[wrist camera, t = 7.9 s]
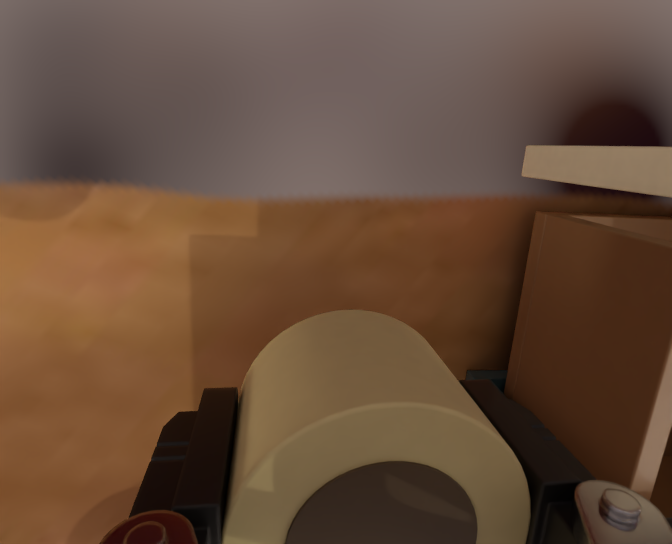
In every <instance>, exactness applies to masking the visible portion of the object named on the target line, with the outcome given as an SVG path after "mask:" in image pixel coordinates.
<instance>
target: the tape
mask: <svg viewBox="0 0 672 544" xmlns="http://www.w3.org/2000/svg"><path fill="white" fill-rule="evenodd" d="M530 519H531V499H530V493H529V488H528V483H527V479H526V477H525V474H524V471H523V469H522V466H521V464H520V462H519V461H518V459H517V457H516V456H515V454H514V452H513V451H512V449H511V448H510V447H509V446H508V444H507V443H506V442H505V440H504V439H503V438H502V437H501V435H500V434H499V433H498V431H497V430H496V429H495V428H494V426H493V425H492V424H491V422H490V421H489V420H488V419H487V417H486V416H485V415H484V413H483V412H482V411H481V410H480V408H479V407H478V406H477V404H476V403H475V402H474V401H473V399H472V398H471V397H470V396H469V394H468V393H467V392H466V390H465V389H464V388H463V387H462V385H461V384H460V383H459V381H458V380H457V379H456V378H455V376H454V375H453V374H452V372H451V371H450V370H449V369H448V367H447V366H446V365H445V363H444V362H443V361H442V360H441V358H440V357H439V356H438V354H437V353H436V352H435V351H434V349H433V348H432V347H431V346H430V344H429V343H428V342H427V341H426V340H425V338H423V337H422V336H421V335H420V334H419V333H418V332H417V331H416V330H414V329H413V328H411V327H410V326H408V325H407V324H405V323H404V322H402V321H399V320H397V319H395V318H393V317H391V316H387V315H384V314H381V313H377V312H372V311H366V310H338V311H332V312H327V313H322V314H319V315H315V316H312V317H309V318H307V319H305V320H302V321H300V322H298V323H296V324H294V325H292V326H291V327H289V328H288V329H286V330H284V331H283V332H281V333H280V334H279V335H278V336H276V337H275V338H274V339H273V340H271V341H270V342H269V343H268V344H267V345H266V346H265V348H264V349H263V350H262V351H261V352H260V353H259V354H258V356H257V357H256V359H255V360H254V361H253V363H252V364H251V366H250V368H249V370H248V372H247V374H246V376H245V379H244V381H243V384H242V387H241V391H240V396H239V401H238V410H237V418H236V425H235V433H234V441H233V448H232V456H231V464H230V471H229V479H228V487H227V495H226V502H225V510H224V518H223V525H222V544H526V540H527V535H528V531H529V525H530Z"/></svg>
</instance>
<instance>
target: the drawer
mask: <svg viewBox="0 0 672 544" xmlns="http://www.w3.org/2000/svg"><path fill="white" fill-rule="evenodd" d="M522 176H523V177H530V178H537V179H544V180H551V181H558V182H565V183H572V184H579V185H586V186H593V187H600V188H607V189H615V190H622V191H629V192H636V193H643V194H650V195H657V196H664V197H671V198H672V147H654V146H653V147H651V146H559V145H527V146H526V151H525V157H524V163H523V169H522ZM504 395H505V396H506V397H507V398H508V399H512V400H513V401H515V402H517V403H518V404H520V405H522V406H523V407H525V408H527V409H528V410H530V411H531V412H532V413H533V414H534V415H535V416H536V417H537V418H538V419H539V420H540V421H541V422H542V423H543V424H544V427H545V428H548V429H549V430H550V431H551V432H552V433H553V435H554V436H555V437H556V440H559V441H560V442H561V443H562V444H563V445H564V446H565V447H566V448H567V449H568V450H569V451H570V452H571V453H572V454H573V455H574V456H575V457H576V458H577V459H578V461H579V462H580V463H581V464H582V465H583V466H584V467H585V468H586V469H587V470H588V471H589V472H590V473H591V474H592V475H593V476H594V477H595V478H596V479H597V480H603V481H609V482H613V483H616V484H619V485H622V486H625V487H627V488H629V489H631V490H633V491H635V492H637V493H639V494H640V495H642V496H643V497H645V498H646V499H648V500H649V501H650V502H651V503H653V504H654V505H655V506H656V507H657V508H658V509H659V510H660V511H661V513H662V514H663V515H664V517H665V518H672V217H663V216H640V215H617V214H593V213H570V212H547V211H536V214H535V220H534V225H533V231H532V236H531V242H530V248H529V253H528V259H527V265H526V270H525V276H524V282H523V287H522V293H521V299H520V304H519V310H518V316H517V321H516V327H515V332H514V338H513V344H512V349H511V355H510V361H509V366H508V372H507V378H506V383H505V389H504Z"/></svg>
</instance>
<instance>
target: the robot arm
mask: <svg viewBox="0 0 672 544" xmlns="http://www.w3.org/2000/svg"><path fill="white" fill-rule="evenodd" d="M459 383H460V384H461V385H462V387H463V388H464V389H465V390H466V392H467V393H468V394H469V396H470V397H471V398H472V399H473V401H474V402H475V403H476V404H477V406H478V407H479V408H480V410H481V411H482V412H483V413H484V415H485V416H486V417H487V419H488V420H489V421H490V422H491V424H492V425H493V426H494V428H495V429H496V430H497V431H498V433H499V434H500V435H501V437H502V438H503V439H504V440H505V442H506V443H507V444H508V446H509V447H510V448H511V449H512V451H513V452H514V454H515V456H516V457H517V459H518V461H519V462H520V464H521V466H522V469H523V471H524V474H525V477H526V479H527V483H528V488H529V493H530V499H531V519H530V525H529V531H528V535H527V540H526V544H672V519H667V518H665V517H664V515H663V514H662V513H661V511H660V510H659V509H658V508H657V507H656V506H655V505H654V504H653V503H651V502H650V501H649V500H648V499H646V498H645V497H643V496H642V495H640V494H639V493H637V492H635V491H633V490H631V489H629V488H627V487H625V486H622V485H619V484H616V483H613V482H609V481H603V480H597V479H596V478H595V477H594V476H593V475H592V474H591V473H590V472H589V471H588V470H587V469H586V468H585V467H584V466H583V465H582V464H581V463H580V462H579V461H578V459H577V458H576V457H575V456H574V455H573V454H572V453H571V452H570V451H569V450H568V449H567V448H566V447H565V446H564V445H563V444H562V443H561V442H560V441H559V440H556V437H555V436H554V435H553V433H552V432H551V431H550V430H549V429H548V428H545V427H544V424H543V423H542V422H541V421H540V420H539V419H538V418H537V417H536V416H535V415H534V414H533V413H532V412H531V411H530V410H528V409H527V408H525V407H523V406H522V405H520V404H518V403H517V402H515V401H513V400H512V399H506V398H505V397H504V396H503V395H502V393H501V392H500V391H499V390H498V389H497V388H496V387H495V386H494V385H493V384H492V383H491V382H490V381H489V380H459ZM237 410H238V389H237V387H231V388H205V389H204V391H203V394H202V398H201V401H200V405H199V409H198V411H189V412H178V413H177V414H176V415H175V416H174V417H173V418H172V419H171V420H170V421H169V422H168V423H167V424H166V425H165V426H164V427H163V429H162V432H161V434H160V437H159V440H158V442H157V447H155V450H154V453H153V455H152V458H151V462H150V463H149V466H148V468H147V471H146V473H145V476H144V479H143V481H142V484H141V487H140V489H139V492H138V494H137V497H136V500H135V502H134V505H133V507H132V510H131V513H130V515H129V518H128V519H126V520H124V521H123V522H121V523H120V524H118V525H117V526H115V527H114V528H113V529H112V530H111V531H110V532H109V533H108V534H107V535H106V536H105V537H104V538H103V539H102V541H101V542H100V544H222V525H223V518H224V510H225V502H226V495H227V487H228V479H229V471H230V464H231V456H232V448H233V441H234V433H235V425H236V418H237Z"/></svg>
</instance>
